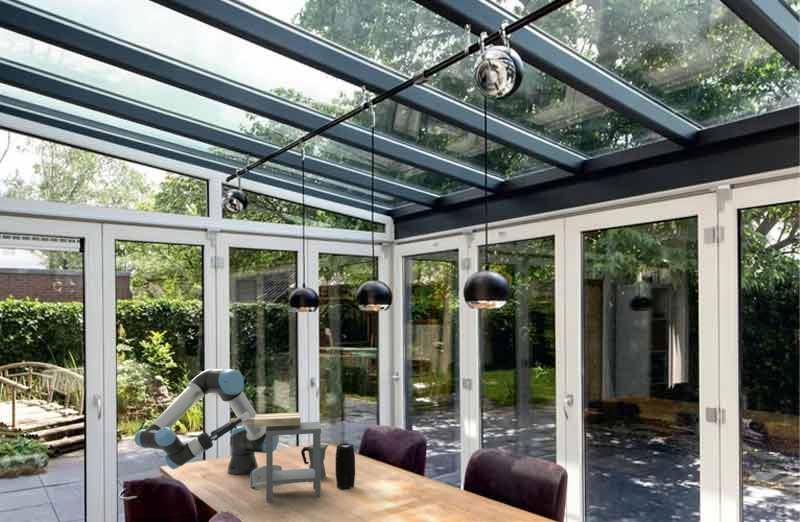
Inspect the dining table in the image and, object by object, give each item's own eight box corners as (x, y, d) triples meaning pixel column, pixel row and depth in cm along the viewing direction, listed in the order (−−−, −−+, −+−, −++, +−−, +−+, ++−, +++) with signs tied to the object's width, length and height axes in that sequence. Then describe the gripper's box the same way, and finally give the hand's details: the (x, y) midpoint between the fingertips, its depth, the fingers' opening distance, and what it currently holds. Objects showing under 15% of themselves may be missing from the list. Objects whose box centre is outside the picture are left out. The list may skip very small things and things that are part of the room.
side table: (266, 490, 284) (266, 424, 286) (319, 486, 288) (318, 421, 291) (265, 502, 266) (265, 431, 269) (321, 498, 271) (321, 428, 273)
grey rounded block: (254, 489, 286) (251, 467, 289) (250, 491, 289) (247, 469, 293) (287, 482, 296) (283, 461, 300) (282, 484, 300) (279, 463, 303)
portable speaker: (339, 484, 292) (338, 442, 294) (358, 485, 290) (357, 443, 291) (332, 489, 284) (332, 446, 285) (352, 490, 281) (351, 446, 283)
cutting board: (231, 421, 282) (231, 415, 283) (299, 418, 288) (299, 412, 289) (227, 428, 267) (228, 421, 267) (300, 424, 273) (300, 417, 273)
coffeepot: (323, 473, 313) (323, 437, 315) (333, 476, 306) (333, 439, 307) (296, 478, 304) (296, 441, 305) (306, 482, 296) (306, 444, 298)
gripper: (207, 446, 280) (253, 418, 285) (202, 455, 263) (251, 425, 268) (199, 432, 280) (245, 404, 285) (194, 440, 263) (243, 410, 268)
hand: (248, 414), depth 277 cm, fingers closed on cutting board, 4 cm apart
